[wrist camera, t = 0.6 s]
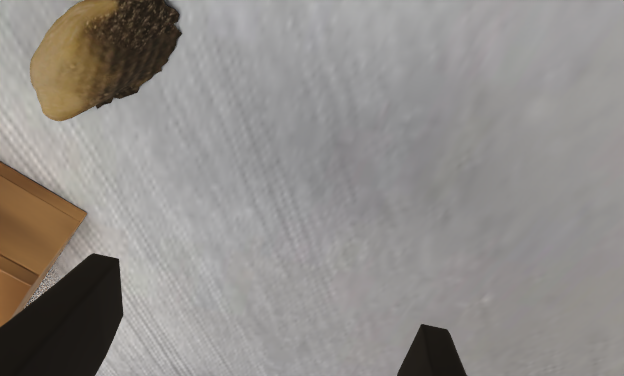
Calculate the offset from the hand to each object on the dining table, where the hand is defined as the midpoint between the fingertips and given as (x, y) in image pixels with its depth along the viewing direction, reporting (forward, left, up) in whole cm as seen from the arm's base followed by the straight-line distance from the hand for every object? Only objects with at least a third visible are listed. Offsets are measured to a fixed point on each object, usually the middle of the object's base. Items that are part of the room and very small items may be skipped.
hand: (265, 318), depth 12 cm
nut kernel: (0, +8, -10) cm, 13 cm away
